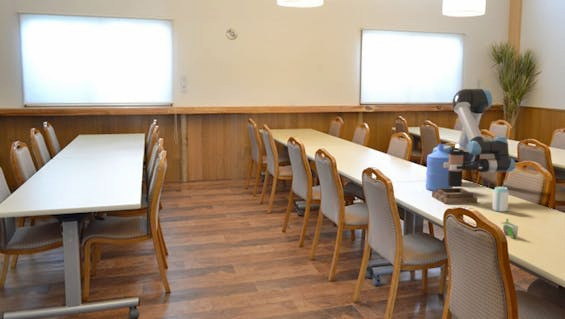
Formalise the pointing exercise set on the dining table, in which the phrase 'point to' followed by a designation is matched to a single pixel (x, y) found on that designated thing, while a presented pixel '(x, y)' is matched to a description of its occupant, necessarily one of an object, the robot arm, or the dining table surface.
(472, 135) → the robot arm
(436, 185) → the water jug
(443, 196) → the brown wooden tray
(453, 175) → the travel mug
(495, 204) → the can
